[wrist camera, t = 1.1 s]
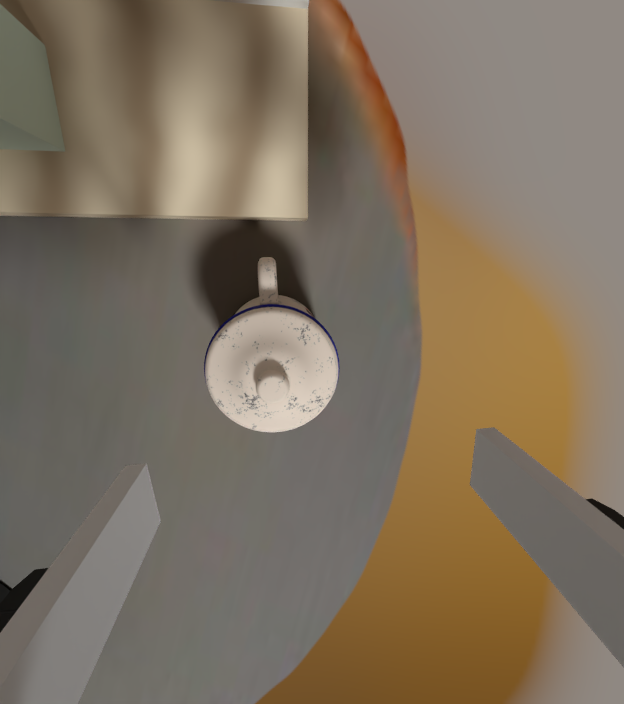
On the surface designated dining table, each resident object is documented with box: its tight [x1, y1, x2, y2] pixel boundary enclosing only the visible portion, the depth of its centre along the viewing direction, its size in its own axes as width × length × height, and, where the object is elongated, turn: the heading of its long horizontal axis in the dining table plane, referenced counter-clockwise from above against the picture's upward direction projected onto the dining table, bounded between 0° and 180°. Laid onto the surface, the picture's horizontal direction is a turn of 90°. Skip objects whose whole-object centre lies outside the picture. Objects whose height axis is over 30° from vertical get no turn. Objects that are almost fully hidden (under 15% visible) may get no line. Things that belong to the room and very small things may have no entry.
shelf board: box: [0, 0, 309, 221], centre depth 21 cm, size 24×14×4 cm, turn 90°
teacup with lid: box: [204, 257, 339, 432], centre depth 23 cm, size 12×9×12 cm
